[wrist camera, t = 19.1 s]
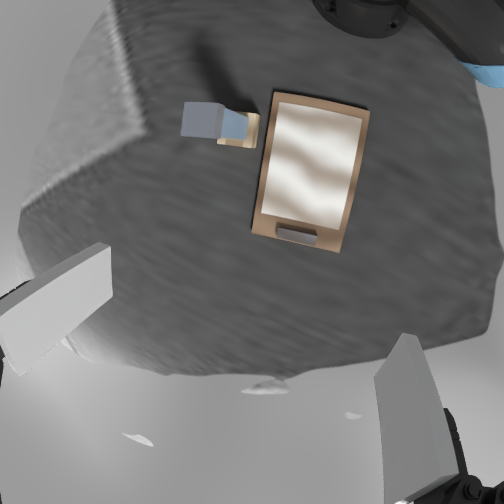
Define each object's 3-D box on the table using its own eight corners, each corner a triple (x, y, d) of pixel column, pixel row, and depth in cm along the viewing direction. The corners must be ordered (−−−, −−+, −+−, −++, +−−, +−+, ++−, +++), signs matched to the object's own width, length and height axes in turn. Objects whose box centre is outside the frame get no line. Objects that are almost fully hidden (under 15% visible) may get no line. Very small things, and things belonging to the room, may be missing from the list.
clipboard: (274, 92, 35) (273, 90, 34) (369, 111, 33) (371, 110, 32) (252, 231, 44) (250, 234, 42) (338, 251, 42) (339, 254, 40)
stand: (228, 112, 37) (222, 110, 35) (260, 116, 37) (256, 113, 34) (223, 143, 39) (217, 143, 37) (255, 148, 39) (251, 148, 36)
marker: (229, 115, 36) (185, 101, 23) (252, 118, 36) (218, 103, 23) (226, 138, 38) (180, 135, 24) (249, 141, 37) (213, 138, 24)
